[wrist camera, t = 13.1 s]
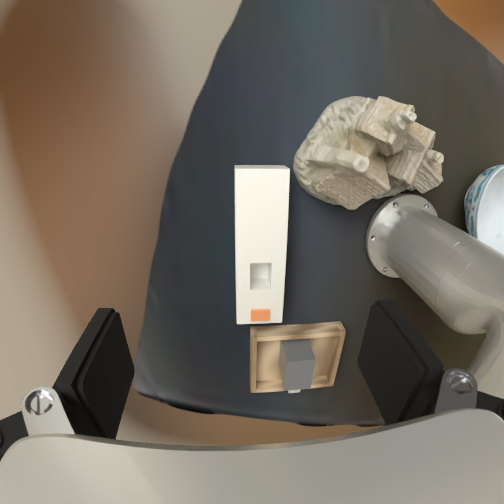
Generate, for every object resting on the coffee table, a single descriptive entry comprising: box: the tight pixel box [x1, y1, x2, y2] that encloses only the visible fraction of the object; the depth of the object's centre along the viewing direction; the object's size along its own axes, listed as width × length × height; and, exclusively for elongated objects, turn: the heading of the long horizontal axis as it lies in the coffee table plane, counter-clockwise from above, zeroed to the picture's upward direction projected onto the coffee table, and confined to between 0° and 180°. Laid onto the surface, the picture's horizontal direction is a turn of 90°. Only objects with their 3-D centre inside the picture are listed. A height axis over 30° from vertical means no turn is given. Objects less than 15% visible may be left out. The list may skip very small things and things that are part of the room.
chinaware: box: [464, 165, 504, 255], centre depth 36 cm, size 15×15×8 cm
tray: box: [250, 321, 346, 393], centre depth 46 cm, size 14×12×3 cm
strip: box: [235, 165, 290, 324], centre depth 38 cm, size 6×20×4 cm, turn 179°
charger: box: [279, 339, 316, 393], centre depth 44 cm, size 4×6×8 cm
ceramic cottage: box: [293, 96, 444, 210], centre depth 30 cm, size 16×16×15 cm
